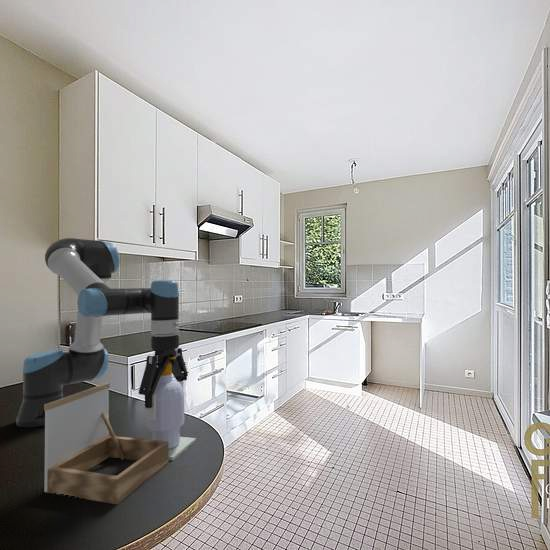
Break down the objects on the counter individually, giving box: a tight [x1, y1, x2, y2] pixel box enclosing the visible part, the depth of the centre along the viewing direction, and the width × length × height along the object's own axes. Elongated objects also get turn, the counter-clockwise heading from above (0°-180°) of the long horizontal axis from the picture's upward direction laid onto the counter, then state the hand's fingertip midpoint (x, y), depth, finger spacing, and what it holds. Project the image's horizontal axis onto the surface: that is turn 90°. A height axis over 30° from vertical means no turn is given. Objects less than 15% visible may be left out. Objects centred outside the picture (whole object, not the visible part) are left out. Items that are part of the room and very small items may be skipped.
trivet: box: [168, 436, 197, 461], centre depth 97 cm, size 12×12×1 cm
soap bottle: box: [145, 357, 186, 449], centre depth 97 cm, size 10×10×24 cm
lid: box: [43, 382, 111, 493], centre depth 86 cm, size 1×19×19 cm, turn 164°
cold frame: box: [47, 412, 170, 505], centre depth 83 cm, size 19×18×12 cm
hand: (165, 410), depth 97 cm, fingers open, 13 cm apart
